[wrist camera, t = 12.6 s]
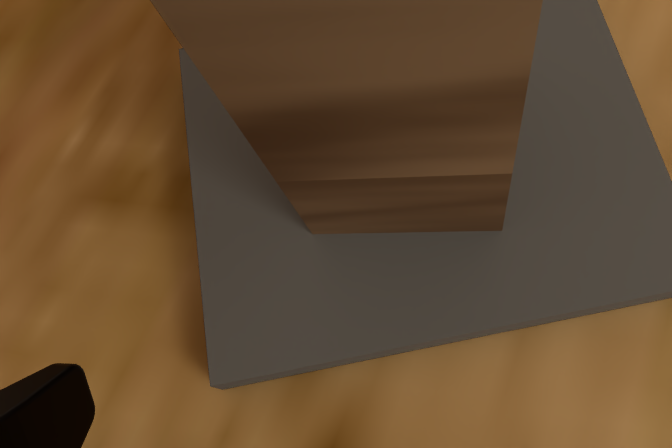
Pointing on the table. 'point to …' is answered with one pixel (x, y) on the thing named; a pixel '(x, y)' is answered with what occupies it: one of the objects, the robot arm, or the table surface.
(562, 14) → the charcoal base plate
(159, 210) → the table surface
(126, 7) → the table surface
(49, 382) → the robot arm
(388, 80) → the walnut block
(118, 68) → the table surface
